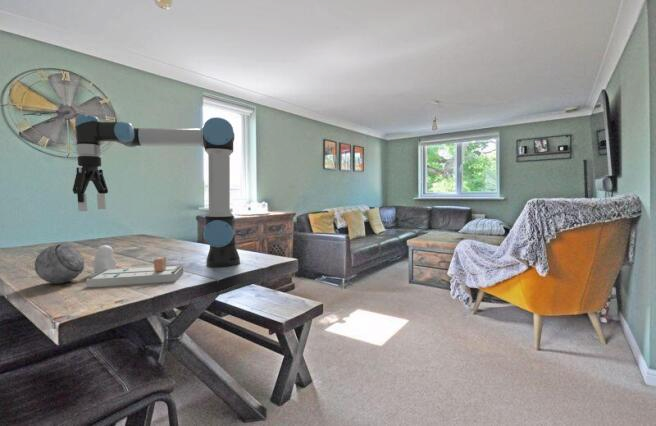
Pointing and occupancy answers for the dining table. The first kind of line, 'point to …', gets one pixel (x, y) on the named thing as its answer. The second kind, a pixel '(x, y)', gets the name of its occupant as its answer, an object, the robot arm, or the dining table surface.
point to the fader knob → (159, 264)
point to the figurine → (104, 259)
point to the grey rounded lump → (59, 263)
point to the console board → (134, 276)
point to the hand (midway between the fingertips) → (93, 210)
